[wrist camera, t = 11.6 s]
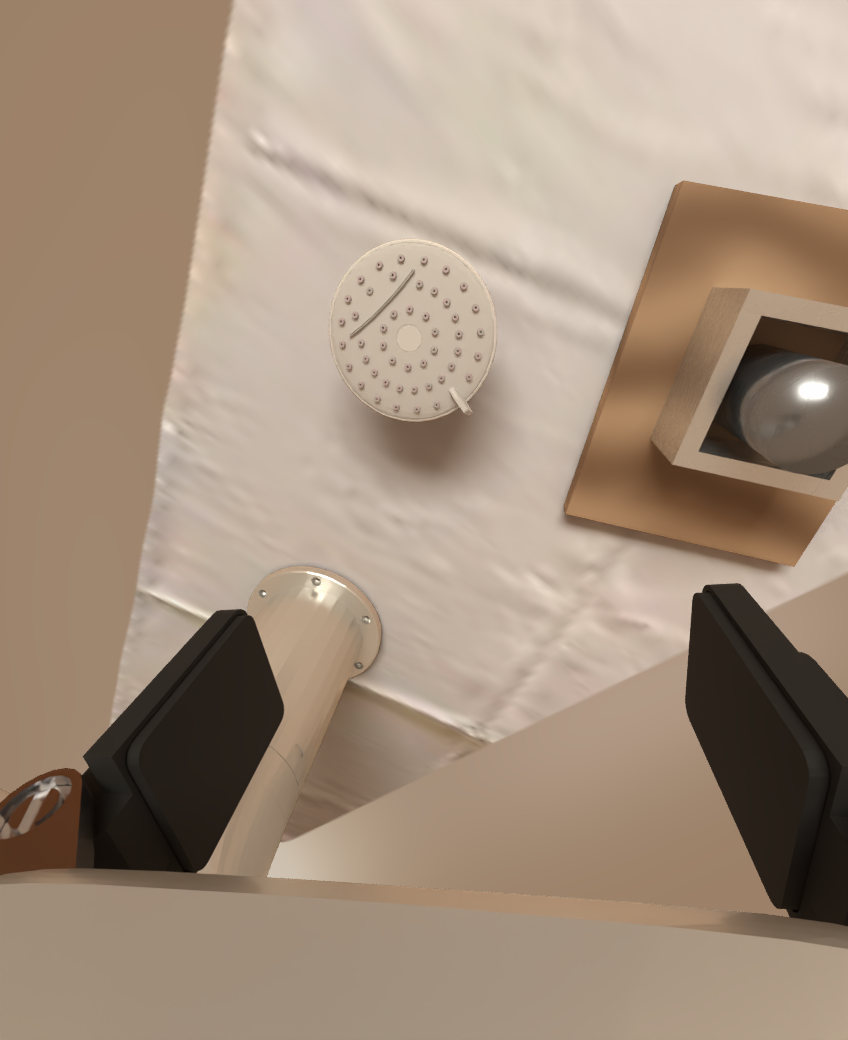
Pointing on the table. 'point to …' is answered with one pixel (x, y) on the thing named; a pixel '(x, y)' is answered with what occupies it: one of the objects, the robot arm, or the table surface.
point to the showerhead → (413, 330)
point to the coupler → (789, 409)
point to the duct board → (716, 375)
